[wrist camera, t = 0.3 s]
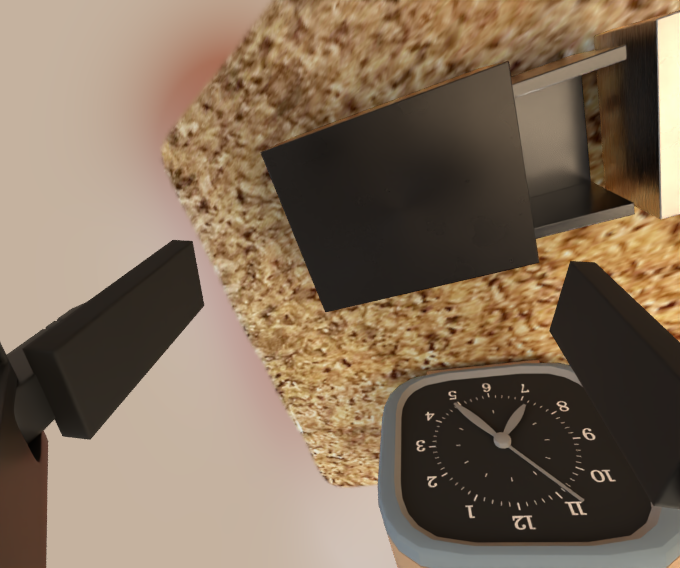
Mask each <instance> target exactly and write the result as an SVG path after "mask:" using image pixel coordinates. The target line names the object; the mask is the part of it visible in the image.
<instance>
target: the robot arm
mask: <svg viewBox="0 0 680 568" xmlns="http://www.w3.org/2000/svg"><path fill="white" fill-rule="evenodd" d="M203 306H204V302H203V296H202V291H201V285H200V280H199V275H198V269H197V264H196V258H195V253H194V247H193V242H192V241H180V240H172V241H171V242H169V243H168V244H167V245H165V246H164V247H162V248H161V249H160V250H158V251H157V252H155V253H154V254H153V255H151V256H150V257H149V258H147V259H146V260H145V261H143V262H142V263H140V264H139V265H138V266H136V267H135V268H133V269H132V270H131V271H129V272H128V273H126V274H125V275H124V276H122V277H121V278H119V279H118V280H117V281H116V282H114V283H113V284H111V285H110V286H108V287H107V288H106V289H104V290H103V291H102V292H100V293H99V294H98V295H96V296H95V297H93V298H92V299H90V300H89V301H88V302H86V303H84V304H81V305H79V306H77V307H75V308H72V309H71V310H69V311H68V312H67V313H65V314H64V315H62V316H61V317H59V318H58V319H57V321H54V322H52V323H51V324H50V325H48V326H47V327H46V329H42V330H41V331H40V332H38V333H37V334H35V335H34V336H33V337H31V338H30V339H28V340H27V341H26V342H24V343H23V344H21V345H20V346H19V347H17V348H16V349H14V350H13V351H11V352H10V353H9V354H7V355H6V353H5V351H4V349H3V347H2V345H1V343H0V568H46V538H47V475H48V440H47V437H46V435H45V433H44V431H43V430H44V429H45V428H46V427H47V426H48V425H49V424H50V423H51V422H52V421H53V420H54V419H55V421H56V423H57V425H58V427H59V430H60V432H61V434H62V436H65V437H73V438H82V439H91V438H92V437H93V436H94V435H95V433H96V432H97V431H98V430H99V429H100V428H101V426H102V425H103V424H104V423H105V422H106V420H107V419H108V418H109V417H110V416H111V415H112V413H113V412H114V411H115V410H116V409H117V407H118V406H119V405H120V404H121V403H122V402H123V400H124V399H125V398H126V397H127V396H128V395H129V393H130V392H131V391H132V390H133V389H134V388H135V386H136V385H137V384H138V383H139V382H140V380H141V379H142V378H143V377H144V376H145V375H146V373H147V372H148V371H149V370H150V369H151V368H152V366H153V365H154V364H155V363H156V362H157V360H158V359H159V358H160V357H161V356H162V355H163V353H164V352H165V351H166V350H167V349H168V348H169V346H170V345H171V344H172V343H173V342H174V341H175V339H176V338H177V337H178V336H179V335H180V333H181V332H182V331H183V330H184V329H185V328H186V326H187V325H188V324H189V323H190V321H191V320H192V319H193V318H194V317H195V316H196V315H197V313H198V312H199V311H200V310H201V309H202V308H203ZM550 332H551V334H552V336H553V337H554V339H555V341H556V343H557V344H558V346H559V348H560V349H561V351H562V353H563V354H564V356H565V358H566V359H567V361H568V363H569V364H570V366H571V368H572V370H573V371H574V373H575V375H576V376H577V378H578V380H579V381H580V383H581V385H582V386H583V388H584V390H585V391H586V393H587V395H588V397H589V398H590V400H591V402H592V403H593V405H594V407H595V408H596V410H597V412H598V413H599V415H600V417H601V418H602V420H603V422H604V423H605V425H606V427H607V429H608V430H609V432H610V434H611V435H612V437H613V439H614V440H615V442H616V444H617V445H618V447H619V449H620V450H621V452H622V454H623V456H624V457H625V459H626V461H627V462H628V464H629V466H630V467H631V469H632V471H633V472H634V474H635V476H636V477H637V479H638V481H639V482H640V484H641V486H642V488H643V489H644V491H645V493H646V494H647V496H648V498H649V499H650V501H651V503H652V504H653V506H657V507H666V508H674V509H680V342H679V341H678V340H677V339H675V338H674V337H673V336H672V335H671V334H670V333H669V332H668V331H667V330H666V329H665V328H664V327H663V326H662V325H661V324H660V323H659V322H658V321H656V320H655V319H654V318H653V317H652V316H651V315H650V314H649V313H648V312H647V311H646V310H645V309H644V308H643V307H642V306H641V305H640V304H638V303H637V302H636V301H635V300H634V299H633V298H632V297H631V296H630V295H629V294H628V293H627V292H626V291H625V290H624V289H623V288H622V287H621V286H619V285H618V284H617V283H616V282H615V281H614V280H613V279H612V278H611V277H610V276H609V275H608V274H607V273H606V272H605V271H604V270H603V269H601V268H600V267H599V266H598V265H597V264H596V263H595V262H576V261H570V264H569V267H568V271H567V274H566V277H565V281H564V284H563V287H562V291H561V294H560V297H559V301H558V304H557V307H556V311H555V314H554V317H553V321H552V324H551V327H550Z"/></svg>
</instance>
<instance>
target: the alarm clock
mask: <svg viewBox="0 0 680 568" xmlns="http://www.w3.org/2000/svg"><path fill="white" fill-rule="evenodd" d="M378 503H379V508H380V511H381V514H382V518H383V521H384V525H385V528H386V531H387V534H388V538H389V541H390V544H391V547H392V551H393V554H394V557H395V560H396V563H397V567H398V568H680V509H674V508H666V507H657V506H653V504H652V503H651V501H650V499H649V498H648V496H647V494H646V493H645V491H644V489H643V488H642V486H641V484H640V482H639V481H638V479H637V477H636V476H635V474H634V472H633V471H632V469H631V467H630V466H629V464H628V462H627V461H626V459H625V457H624V456H623V454H622V452H621V450H620V449H619V447H618V445H617V444H616V442H615V440H614V439H613V437H612V435H611V434H610V432H609V430H608V429H607V427H606V425H605V423H604V422H603V420H602V418H601V417H600V415H599V413H598V412H597V410H596V408H595V407H594V405H593V403H592V402H591V400H590V398H589V397H588V395H587V393H586V391H585V390H584V388H583V386H582V385H581V383H580V381H579V380H578V378H577V376H576V375H575V373H574V371H573V370H572V368H571V366H570V365H566V364H561V363H540V361H539V360H530V361H520V362H510V363H501V364H491V365H482V366H472V367H463V368H453V369H443V370H434V371H427V375H424V376H419V377H414V378H412V379H410V380H408V381H406V382H405V383H403V384H401V385H399V386H398V387H397V388H396V389H395V390H394V391H393V392H392V393H391V394H390V396H389V398H388V400H387V402H386V404H385V407H384V412H383V417H382V430H381V445H380V460H379V475H378Z"/></svg>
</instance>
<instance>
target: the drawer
mask: <svg viewBox="0 0 680 568" xmlns="http://www.w3.org/2000/svg"><path fill="white" fill-rule="evenodd" d="M594 44H595V50H593V51H588V52H583V53H579V54H574V55H571V56H568V57H565V58H563V59H560V60H557V61H554V62H551V63H549V64H546V65H543V66H540V67H537V68H535V69H532V70H529V71H526V72H523V73H521V74H518V75H515V76H512V77H511V80H512V86H513V93H514V99H515V106H516V113H517V119H518V126H519V132H520V139H521V146H522V152H523V159H524V166H525V172H526V179H527V185H528V192H529V199H530V205H531V212H532V218H533V225H534V232H535V238H536V239H537V238H541V237H545V236H549V235H553V234H557V233H561V232H565V231H569V230H573V229H577V228H581V227H585V226H589V225H593V224H597V223H601V222H605V221H609V220H613V219H617V218H621V217H625V216H629V215H633V214H634V206H636V207H638V208H640V209H642V210H644V211H646V212H647V213H649V214H651V215H653V216H655V217H657V218H659V219H663V218H667V217H672V216H676V215H680V10H679V11H676V12H672V13H669V14H665V15H661V16H658V17H654V18H651V19H647V20H643V21H640V22H636V23H633V24H629V25H625V26H622V27H618V28H615V29H611V30H608V31H606V32H603V33H600V34H597V35H595V36H594ZM595 70H596V71H597V84H598V98H599V111H600V125H601V139H602V152H603V166H604V179H605V188H603V187H601V186H599V185H597V184H595V183H593V182H591V178H590V166H589V155H588V143H587V132H586V120H585V109H584V98H583V86H582V75H584V74H587V73H590V72H593V71H595Z"/></svg>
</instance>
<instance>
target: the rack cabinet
mask: <svg viewBox="0 0 680 568" xmlns="http://www.w3.org/2000/svg"><path fill="white" fill-rule="evenodd" d="M261 155H262V157H263V160H264V162H265V165H266V167H267V170H268V172H269V175H270V177H271V179H272V182H273V184H274V187H275V189H276V192H277V194H278V197H279V199H280V202H281V204H282V207H283V209H284V211H285V214H286V216H287V219H288V221H289V224H290V226H291V229H292V231H293V234H294V236H295V239H296V241H297V244H298V246H299V248H300V251H301V253H302V256H303V258H304V261H305V263H306V266H307V268H308V271H309V273H310V276H311V278H312V280H313V283H314V285H315V288H316V290H317V293H318V295H319V298H320V300H321V303H322V305H323V308H324V310H325V312H329V311H334V310H338V309H342V308H346V307H351V306H355V305H359V304H364V303H368V302H372V301H377V300H381V299H385V298H389V297H394V296H398V295H402V294H407V293H411V292H415V291H420V290H424V289H428V288H433V287H437V286H441V285H445V284H450V283H454V282H458V281H463V280H467V279H471V278H476V277H480V276H484V275H489V274H493V273H497V272H501V271H506V270H510V269H514V268H519V267H523V266H527V265H532V264H536V263H539V258H538V251H537V245H536V238H535V232H534V225H533V218H532V212H531V205H530V199H529V192H528V185H527V179H526V172H525V166H524V159H523V152H522V146H521V139H520V132H519V126H518V119H517V113H516V106H515V99H514V93H513V86H512V80H511V73H510V66H509V62H508V61H506V62H502V63H498V64H494V65H490V66H486V67H482V68H478V69H476V70H473V71H470V72H468V73H465V74H462V75H460V76H457V77H454V78H451V79H449V80H446V81H443V82H441V83H438V84H435V85H433V86H430V87H427V88H424V89H422V90H419V91H416V92H414V93H411V94H408V95H406V96H403V97H400V98H397V99H395V100H392V101H389V102H387V103H384V104H381V105H379V106H376V107H373V108H370V109H368V110H365V111H362V112H360V113H357V114H354V115H352V116H349V117H346V118H343V119H341V120H338V121H335V122H333V123H330V124H327V125H325V126H322V127H319V128H316V129H314V130H311V131H308V132H306V133H303V134H300V135H298V136H295V137H293V138H291V139H288V140H286V141H284V142H282V143H280V144H277V145H275V146H273V147H271V148H269V149H266V150H264V151H262V152H261Z"/></svg>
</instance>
